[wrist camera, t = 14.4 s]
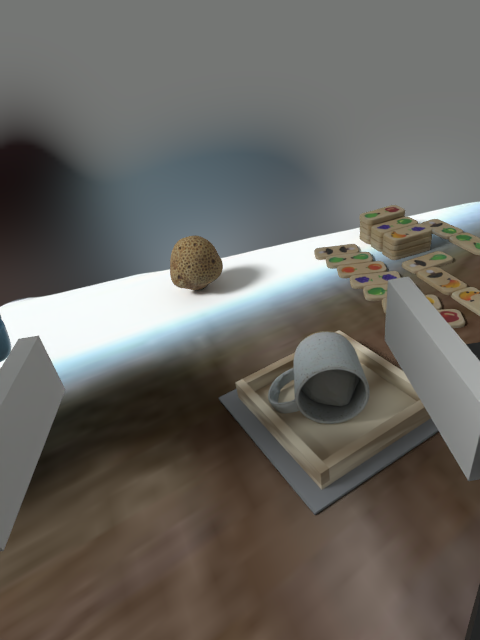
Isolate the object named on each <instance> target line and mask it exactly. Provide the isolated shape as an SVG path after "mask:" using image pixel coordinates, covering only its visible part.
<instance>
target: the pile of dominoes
mask: <svg viewBox="0 0 480 640" xmlns="http://www.w3.org/2000/svg"><path fill="white" fill-rule="evenodd" d="M404 215H405V210H404V209H403V208H401V207H399V206H396V205H391V206H388V207H384V208H381V209H377V210H374V211H370V212H366V213H363V214H361V215H360V240H362V241H364V242H365V243H367V244H371V247H373V248H374V249H376V250H378V251H380V252H382V254H383V255H385V256H386V257H388V258H390V259H391V260H398V259H401V258H405V257H408V256H412V255H415V254H418V253H422V252H425V251H428V250H430V245H431V240H432V235H431V234H435V235H437V236H439V237H441V238H443V239H449V242H451V243H453V244H455V245H457V246H459V247H461V248H463V249H465V250H467V251H469V252H471V253H473V254H475V255H480V238H478V237H476V236H474V235H472V234H470V233H463V230H461V229H459V228H457V227H454V226H452V225H450V224H447V223H445V222H443V221H441V220H438V219H432V220H429V221H426V222H423V223H422V224H418V222H417V221H416V220H414V219H412V218H410V217H405V216H404ZM314 252H315V257H316V259H318V260H323V259H326V264H327V267H328V268H332V269H333V268H337V271H338V275H339V277H340V278H350V283H351V287H352V288H354V289H363V292H364V296H365V299H366V300H368V301H379V300H382V306H383V310H384V312H385V313H386V307H387V288H388V280H391V279H397V278H401V277H400V275H399V273H398V272H395V271H390V272H387V268H386V266H385V264H384V263H383V262H381V261H374V262H373V258H372V256H371V254H370V253H369V252H359V249H358V247H357V245H355V244H347V245H340V246H332V247H323V248H317V249H315V250H314ZM452 262H453V258H452V257H451V256H449V255H447V254H445V253H443V252H439V251H437V252H433V253H430V254H427V255H424V256H421V257H418V258H414V259H411V260H408V261H405V262H403V263H402V267H403V268H404V269H406V270H408V271H409V272H411V273H414V274H417V277H419V278H420V279H422V280H423V281H425V282H426V283H428V284H429V285H431V286H432V287H434V288H435V289H437V290H438V291H440V292H442V293H443V294H446V295H452V296H451V297H452V298H453V299H454V300H456V301H457V302H459V303H460V304H462V305H464V306H465V307H467V308H468V309H470V310H471V311H473V312H474V313H476V314H477V315H479V316H480V291H479V290H478V289H476V288H473V287H467V284H465V283H464V282H462V281H460V280H459V279H457V278H455V277H453V276H452V275H450V274H448V273H447V272H445V271H443V270H442V269H440V268H438V267H440V266H444V265H447V264H450V263H452ZM415 285H416V284H415ZM424 296H425V297H426V298H427V299H428V300H429V301H430V303H431V304H432V305H433V306H434V307H435V309H436V310H437V311H438V312H439V313H440V314H441V316H442V317H443V318H444V319H445V320H446V322H447V323H448V324H449V325H450V326H451V328H461V327H464V326H465V320H464V318H463V316H462V314H461V312H460V311H458V310H455V309H446V310H441V309H442V306H441V303H440V301H439V299H438V297H437V296H435V295H424Z"/></svg>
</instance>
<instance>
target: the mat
mask: <svg viewBox="0 0 480 640" xmlns="http://www.w3.org/2000/svg"><path fill="white" fill-rule="evenodd" d="M219 400H220V401H221V403H222V404H223V405H224V406H225V407H226V409H227V410H228V411H229V412H230V413H231V415H232V416H233V417H234V418H235V419H236V421H237V422H238V423H239V424H240V425H241V427H242V428H243V429H244V430H245V431H246V433H247V434H248V435H249V436H250V437H251V439H252V440H253V441H254V442H255V443H256V445H257V446H258V447H259V448H260V449H261V451H262V452H263V453H264V454H265V455H266V457H267V458H268V459H269V460H270V461H271V463H272V464H273V465H274V466H275V467H276V469H277V470H278V471H279V472H280V473H281V475H282V476H283V477H284V478H285V480H286V481H287V482H288V483H289V484H290V486H291V487H292V488H293V489H294V490H295V492H296V493H297V494H298V495H299V496H300V498H301V499H302V500H303V501H304V502H305V504H306V505H307V506H308V507H309V508H310V510H311V511H312V512H313V513H314V514H315V515H316V514H317V513H319V512H320V511H322V510H323V509H325V508H326V507H328V506H329V505H331V504H332V503H334V502H335V501H337V500H338V499H340V498H341V497H342V496H344V495H345V494H347V493H348V492H350V491H351V490H353V489H354V488H356V487H357V486H359V485H360V484H362V483H363V482H365V481H366V480H368V479H369V478H371V477H372V476H373V475H375V474H376V473H378V472H379V471H381V470H382V469H384V468H385V467H387V466H388V465H390V464H391V463H393V462H394V461H396V460H397V459H399V458H400V457H402V456H403V455H404V454H406V453H407V452H409V451H410V450H412V449H413V448H415V447H416V446H418V445H419V444H421V443H422V442H424V441H425V440H427V439H428V438H430V437H431V436H433V435H434V434H435V433H437V432H438V429H437V427H436V425H435V424H434V422H433V420H432V419H431V418H430V419H429V420H427V421H426V422H424V423H423V424H421V425H420V426H418V427H417V428H415V429H414V430H412V431H411V432H409V433H408V434H406V435H405V436H403V437H401V438H400V439H398V440H397V441H395V442H394V443H392V444H391V445H389V446H388V447H386V448H385V449H383V450H382V451H380V452H379V453H377V454H376V455H374V456H373V457H371V458H370V459H368V460H366V461H365V462H363V463H362V464H360V465H359V466H357V467H356V468H354V469H353V470H351V471H350V472H348V473H347V474H345V475H344V476H342V477H341V478H339V479H338V480H336V481H334V482H333V483H331V484H330V485H328V486H327V487H325V488H324V489H322V490H321V488H320V487H319V486H318V485H317V484H316V483H315V482H314V481H313V480H312V478H311V477H310V476H309V475H308V474H307V473H306V472H305V471H304V470H303V468H302V467H301V466H300V465H299V464H298V463H297V462H296V461H295V460H294V458H293V457H292V456H291V455H290V454H289V453H288V452H287V451H286V450H285V448H284V447H283V446H282V445H281V444H280V443H279V442H278V441H277V440H276V438H275V437H274V436H273V435H272V434H271V433H270V432H269V431H268V430H267V428H266V427H265V426H264V425H263V424H262V423H261V422H260V421H259V420H258V418H257V417H256V416H255V415H254V414H253V413H252V412H251V411H250V410H249V408H248V407H247V406H246V405H245V404H244V403H243V402H242V401H241V400H240V398H239V397H238V393H237V389H235V390H233V391H231V392H229V393H227V394H225V395H223V396H221V397H219Z"/></svg>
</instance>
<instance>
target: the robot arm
mask: <svg viewBox="0 0 480 640" xmlns="http://www.w3.org/2000/svg"><path fill="white" fill-rule="evenodd" d="M385 341H386V343H387V344H388V346H389V348H390V349H391V351H392V353H393V355H394V356H395V358H396V360H397V361H398V363H399V365H400V366H401V368H402V370H403V371H404V373H405V375H406V376H407V378H408V380H409V382H410V383H411V385H412V387H413V388H414V390H415V392H416V393H417V395H418V397H419V398H420V400H421V402H422V403H423V405H424V407H425V409H426V410H427V412H428V414H429V415H430V417H431V419H432V420H433V422H434V424H435V425H436V427H437V429H438V431H439V432H440V434H441V436H442V437H443V439H444V441H445V442H446V444H447V446H448V447H449V449H450V451H451V452H452V454H453V456H454V458H455V459H456V461H457V463H458V464H459V466H460V468H461V469H462V471H463V473H464V474H465V476H466V478H467V479H468V481H472V480H478V479H480V342H479V343H472V344H465V343H464V342H463V341H462V339H461V338H460V337H459V336H458V335H457V333H456V332H455V331H454V330H453V329H452V328H451V326H450V325H449V324H448V323H447V322H446V320H445V319H444V318H443V317H442V316H441V314H440V313H439V312H438V311H437V310H436V309H435V307H434V306H433V305H432V304H431V303H430V301H429V300H428V299H427V298H426V297H425V296H424V294H423V293H422V292H421V291H420V290H419V288H418V287H417V286H416V285H415V284H414V282H413V281H412V280H411V279H410V278H409V277H404V278H397V279H391V280H388V288H387V307H386V325H385ZM10 351H11V343H10V339H9V336H8V333H7V330H6V327H5V325H4V323H3V321H2V320H1V315H0V362H1V361H3V360H5V359H6V358H7V359H6V361H5V362H4V364H3V366H2V367H1V369H0V551H4V548H5V545H6V543H7V540H8V538H9V535H10V533H11V530H12V527H13V525H14V522H15V520H16V517H17V514H18V512H19V509H20V507H21V504H22V501H23V499H24V496H25V494H26V491H27V488H28V486H29V483H30V481H31V478H32V475H33V473H34V470H35V468H36V465H37V462H38V460H39V457H40V455H41V452H42V449H43V447H44V444H45V442H46V439H47V436H48V434H49V431H50V429H51V426H52V423H53V421H54V418H55V416H56V413H57V410H58V408H59V405H60V403H61V400H62V397H63V395H64V392H65V388H64V386H63V384H62V382H61V380H60V378H59V376H58V374H57V372H56V370H55V368H54V366H53V364H52V362H51V360H50V358H49V356H48V354H47V352H46V350H45V348H44V346H43V344H42V342H41V340H40V338H39V336H34V337H28V338H22V339H18V341H17V342H16V344H15V346H14V347H13V349H12V351H11V352H10ZM8 355H9V356H8ZM465 640H480V585H479V588H478V592H477V596H476V599H475V603H474V607H473V611H472V614H471V618H470V622H469V625H468V629H467V633H466V637H465Z"/></svg>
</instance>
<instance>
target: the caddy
mask: <svg viewBox="0 0 480 640" xmlns="http://www.w3.org/2000/svg"><path fill="white" fill-rule="evenodd" d="M335 333H338V334H341V335H342V336H344V337H345V338H346V339H347V340H348V341H349V342H350V343H351V344H352V346H353V347H354V349H355V351H356V353H357V355H358V358H359V361H360V364H361V366H362V368H363V371H364V374H365V377H366V379H367V382H368V384H369V392H370V394H369V400H368V402H367V404H366V406H365V408H364V409H363V410H362V412H360V413H359V414H358V415H357V416H355V417H354V418H352V419H350V420H348V421H345V422H342V423H335V424H324V423H318V422H315V421H312V420H310V419H308V418H307V417H305V416H304V415H303V414H302V413H301V412H300V411H297V412H293V413H288V414H284V413H280V412H278V411H276V410H275V408H274V407H273V406H272V405H271V404H270V402H269V399H268V392H269V389H270V386H271V385H272V383H273V382H274V380H275V379H276V378H277V377H278V376H280V375H281V374H282V373H284V372H286V371H288V370H289V369H292V368H294V356H295V353H293V354H291V355H289V356H287V357H285V358H283V359H281V360H279V361H277V362H275V363H273V364H271V365H269V366H267V367H265V368H263V369H261V370H259V371H257V372H255V373H253V374H251V375H249V376H247V377H245V378H243V379H241V380H240V381H238V382H236V388H237V393H238V397H239V398H240V400H241V401H242V402H243V403H244V404H245V405H246V406H247V407H248V408H249V410H250V411H251V412H252V413H253V414H254V415H255V416H256V417H257V418H258V420H259V421H260V422H261V423H262V424H263V425H264V426H265V427H266V428H267V430H268V431H269V432H270V433H271V434H272V435H273V436H274V437H275V438H276V440H277V441H278V442H279V443H280V444H281V445H282V446H283V447H284V448H285V450H286V451H287V452H288V453H289V454H290V455H291V456H292V457H293V458H294V460H295V461H296V462H297V463H298V464H299V465H300V466H301V467H302V468H303V470H304V471H305V472H306V473H307V474H308V475H309V476H310V477H311V478H312V480H313V481H314V482H315V483H316V484H317V485H318V486H319V487H320V488H321V490H322V489H324V488H325V487H327V486H328V485H330V484H331V483H333V482H334V481H336V480H338V479H339V478H341V477H342V476H344V475H345V474H347V473H348V472H350V471H351V470H353V469H354V468H356V467H357V466H359V465H360V464H362V463H363V462H365V461H366V460H368V459H370V458H371V457H373V456H374V455H376V454H377V453H379V452H380V451H382V450H383V449H385V448H386V447H388V446H389V445H391V444H392V443H394V442H395V441H397V440H398V439H400V438H401V437H403V436H405V435H406V434H408V433H409V432H411V431H412V430H414V429H415V428H417V427H418V426H420V425H421V424H423V423H424V422H426V421H427V420H429V419H430V418H431V417H430V415H429V414H428V412H427V410H426V409H425V407H424V405H423V403H422V402H421V400H420V398H419V397H418V395H417V393H416V392H415V390H414V388H413V387H412V385H411V383H410V382H409V380H408V378H407V376H406V375H405V373H404V371H402V370H400V369H399V368H397V367H396V366H394V365H393V364H391V363H390V362H388V361H386V360H385V359H383V358H382V357H380V356H379V355H377V354H375V353H374V352H372V351H371V350H369V349H368V348H366V347H365V346H363V345H361V344H360V343H358V342H357V341H355V340H354V339H352V338H351V337H349V336H347V335H346V334H344V333H343V332H341V331H340V330H339V331H337V332H335ZM294 390H295V388H294V380H292V381H291V382H289V383H288V384H286V385H285V386H284V387H283V388H282V389H281V390H280V394H279V397H278V403H282V402H289V401H292V400H294V399H295V393H294Z"/></svg>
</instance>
